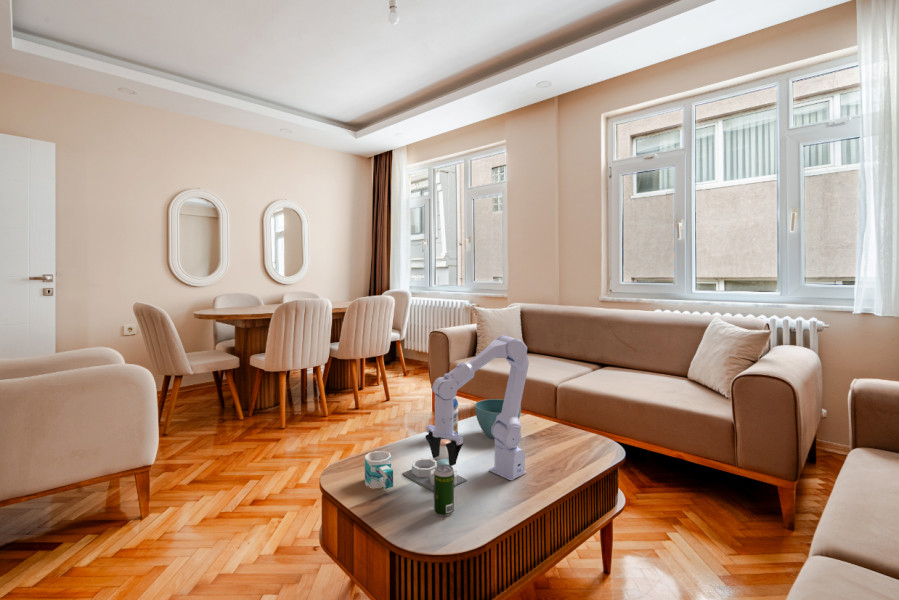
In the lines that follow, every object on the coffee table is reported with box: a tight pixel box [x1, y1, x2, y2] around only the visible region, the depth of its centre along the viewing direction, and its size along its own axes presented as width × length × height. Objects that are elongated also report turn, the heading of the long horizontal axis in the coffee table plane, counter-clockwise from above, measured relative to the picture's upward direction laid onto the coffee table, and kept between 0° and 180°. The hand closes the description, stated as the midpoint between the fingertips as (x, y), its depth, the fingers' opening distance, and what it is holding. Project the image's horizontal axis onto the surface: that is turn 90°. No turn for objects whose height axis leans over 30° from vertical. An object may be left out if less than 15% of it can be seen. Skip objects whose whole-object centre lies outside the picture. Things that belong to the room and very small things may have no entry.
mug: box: [364, 450, 394, 490], centre depth 131 cm, size 8×12×8 cm
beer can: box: [433, 465, 455, 518], centre depth 116 cm, size 5×5×12 cm
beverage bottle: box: [441, 394, 459, 439], centre depth 169 cm, size 8×8×20 cm
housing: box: [402, 457, 468, 493], centre depth 136 cm, size 17×12×3 cm
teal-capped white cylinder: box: [436, 459, 449, 466], centre depth 132 cm, size 4×4×6 cm
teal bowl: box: [474, 398, 522, 440], centre depth 171 cm, size 18×18×12 cm
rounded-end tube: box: [436, 439, 451, 461], centre depth 150 cm, size 4×4×6 cm
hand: (444, 460), depth 132 cm, fingers open, 7 cm apart
